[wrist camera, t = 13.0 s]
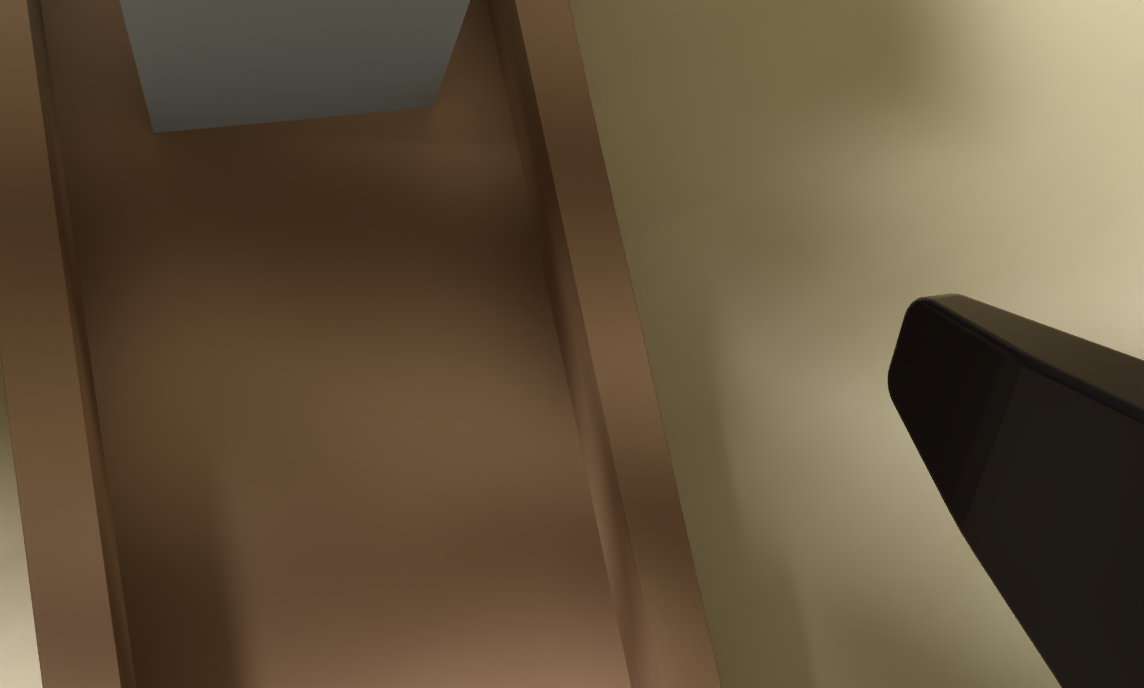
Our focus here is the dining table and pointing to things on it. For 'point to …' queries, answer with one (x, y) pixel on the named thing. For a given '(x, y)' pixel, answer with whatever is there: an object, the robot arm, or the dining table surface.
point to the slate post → (287, 58)
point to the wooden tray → (332, 382)
